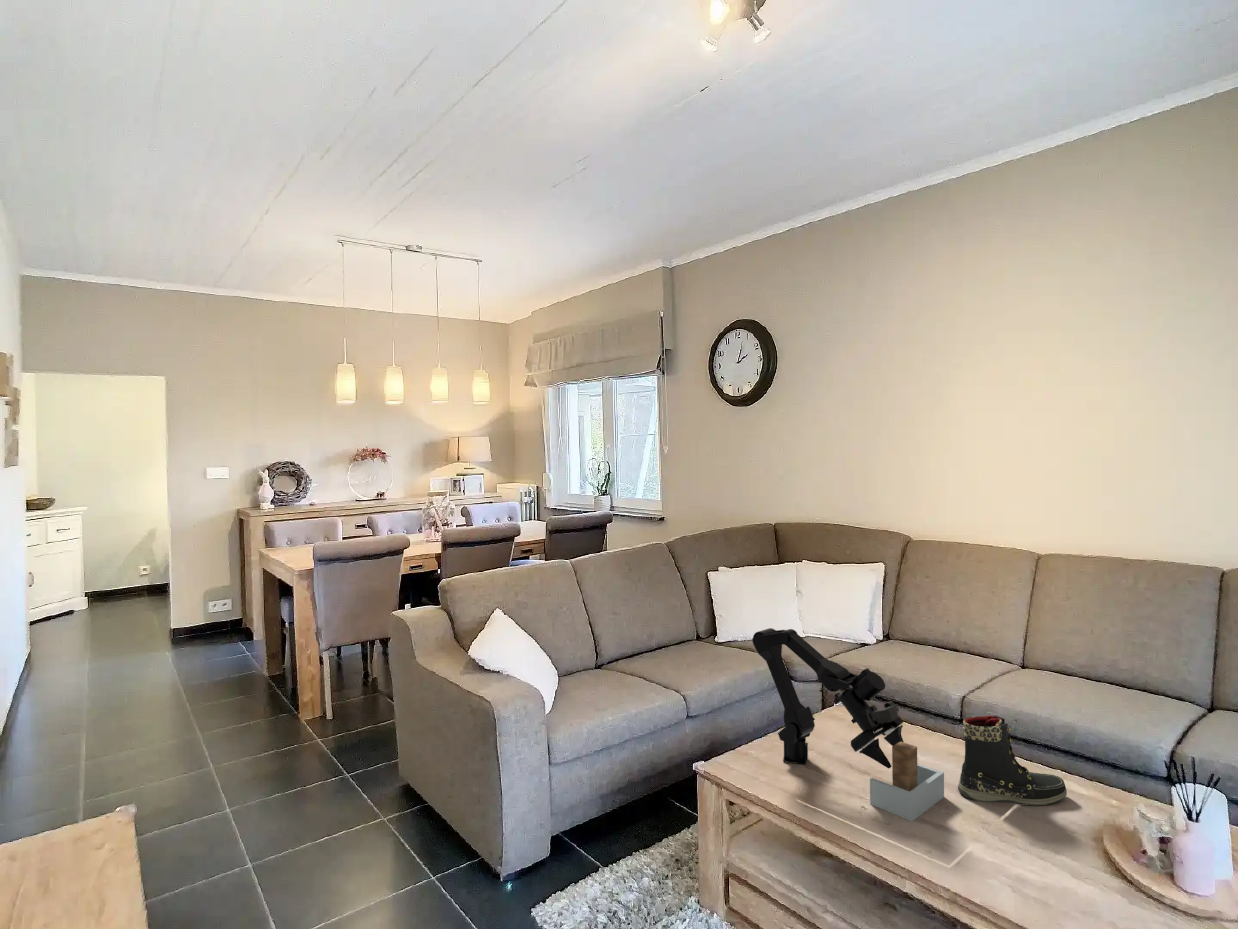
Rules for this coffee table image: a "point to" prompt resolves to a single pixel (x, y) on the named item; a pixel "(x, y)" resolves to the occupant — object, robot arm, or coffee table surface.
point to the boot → (1001, 768)
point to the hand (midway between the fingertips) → (899, 762)
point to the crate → (909, 794)
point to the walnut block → (904, 766)
